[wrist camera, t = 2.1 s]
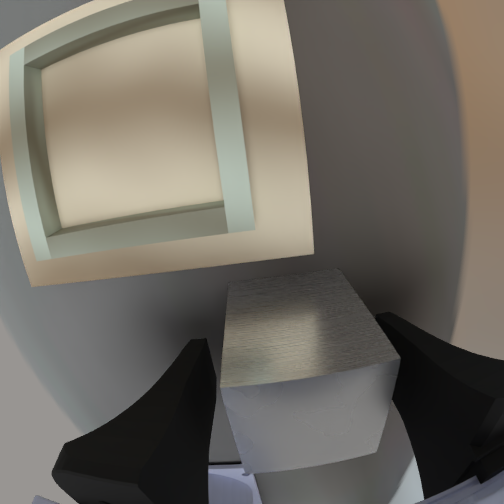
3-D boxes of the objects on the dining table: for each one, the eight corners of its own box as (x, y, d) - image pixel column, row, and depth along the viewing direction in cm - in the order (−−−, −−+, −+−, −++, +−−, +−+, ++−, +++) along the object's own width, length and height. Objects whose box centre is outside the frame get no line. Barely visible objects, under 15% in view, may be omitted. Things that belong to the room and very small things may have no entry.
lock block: (337, 353, 14) (376, 452, 8) (243, 366, 14) (245, 474, 8) (338, 267, 12) (400, 358, 7) (228, 281, 12) (219, 387, 7)
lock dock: (307, 243, 12) (322, 266, 10) (44, 276, 12) (17, 298, 10) (273, -22, 8) (279, -53, 6) (12, 55, 8) (-19, 47, 6)
